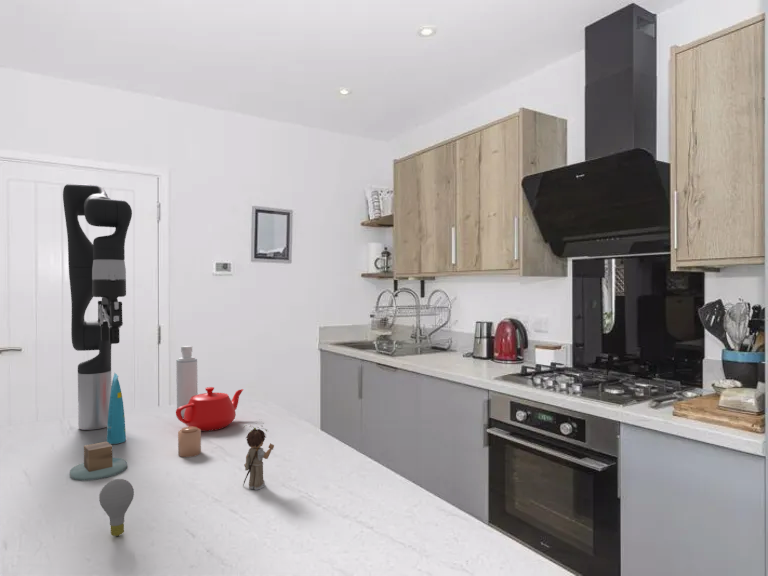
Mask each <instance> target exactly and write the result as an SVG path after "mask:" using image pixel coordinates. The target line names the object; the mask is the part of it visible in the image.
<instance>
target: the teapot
mask: <svg viewBox="0 0 768 576" xmlns="http://www.w3.org/2000/svg"><path fill="white" fill-rule="evenodd" d="M214 390H215V387H213V386H209V387H205V391H206V392H205V393H200V394H198V395H195V396H193V397H191V398H190V400H189V403H188V404H187V405H184V406H181V407H179V408H178V409H177V408H176V410H175V416H176V418H177V419H178V421H180V422H181V423H183V424H185V425H186V427H197V428H199V429H201V432H210V431H211V430H212V431H217V430H221V429H224V428H226V427H227V426H229V425H230V424H232V422H234V420H235V419H236V416H237V415H236V410H237V408H238V406H239V400H240V395H241V394H242V392H243V391H244V389H243V388H242V389H238V390H236V391H235V393H234V394H233V397H232V399H231V398H230V396H229V394H228V393H225V392H224V393H223V392H213V391H214ZM185 408H186V409H185ZM183 409H185V413H184V417H182V416H181V411H182V410H183ZM209 430H210V431H209ZM212 431H211V432H212Z"/></svg>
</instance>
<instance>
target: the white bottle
mask: <svg viewBox="0 0 768 576" xmlns="http://www.w3.org/2000/svg"><path fill="white" fill-rule="evenodd" d="M180 352H181V357H178V359H177V360H176V362H175V366H176V369H175V370H176V373H175V374H176V375H175V376H176V410H177V409H178V408H179V407H181V406H184V405H187V404H188V403H189V400H190V398H191V397H193V396H195V395H199V394H198V391H199V390H198V359H197V358H196V356H192V353H193V346H192V345H181V347H180ZM185 409H186V408H185ZM185 409H183V410H182V411H181V416H182V418H184V413H185Z"/></svg>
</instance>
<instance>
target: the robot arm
mask: <svg viewBox="0 0 768 576" xmlns="http://www.w3.org/2000/svg"><path fill="white" fill-rule="evenodd" d="M62 201H63V211H64V218H65V226H66V235H67V254H68V255H67V257H68V261H67V262H68V278H69V286H70V287H69V288H70V300H71V328H70V329H71V337H70V338H71V344H72V348H73V349H74V350H75V351H78V352H79V351H85V352H86V351H98V354H97V355H95V356H94V357H92V358H90V359H88V360H85V361H82V362H80V363H79V364H78V365H77V404H78V405H77V410H78V411H77V414H78V415H77V417H78V419H77V421H78V422H77V425H78V426H77V427H78V430H83V431H90V430H91V431H93V430H100V429H105V428H107V425H108V411H109V402H110V394H111V386H112V344H115V345H116V344H117V345H118V344H120V328H121V327H122V326H123V324H124V323H123V302H122V301H119V300H118V298H121V297H122V298H123V297H125V296H127V268H126V262H125V261H126V260H125V256H126V255H125V243H126V237H127V235H128V234H127V233H128V230H129V227H130V223H131V220H132V216H133V210H132V207H131V205H130V204H129V203H128V202H127V201H125V200H122V199H121V200H120V199H111V198H110V197H109V196H108V194H107V192H106V190H105V189H104V187H102V186H101V185H96V184H85V183H83V184H80V183H68V184H67V183H66V184H65V185H64V186H63V190H62ZM79 216H80V217H81V216H84V219H85V221H86V223H87V224H89V225H90V226H93V227H101V228H103V227H104V228H115V229H114V232H113V233H111V234H108V235H103V236H96V237H95V238H94V239H93V241H92V242H91V241H90V239H89V238H88V237H87V235H86V233H85V232H84V230H83V229H82V226H81V224H80V222H79ZM93 298H101V300H98V301H97V320H87V321H86V320H85V315H86V311H87V309H88V306H89V305H90V303H91V301H92V300H93Z"/></svg>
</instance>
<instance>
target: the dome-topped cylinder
mask: <svg viewBox="0 0 768 576" xmlns="http://www.w3.org/2000/svg"><path fill="white" fill-rule="evenodd" d="M177 442H178V443H177V447H178V448H177V449H178V450H177V452H178V454H177V455H178V457H181V458H190V457H191V458H192V457H196V456H199V455H200V454H201V452H202V431H201V429H199V428H197V427H188V426H185V427H183V428H181V429H180V430H178V432H177Z"/></svg>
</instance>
